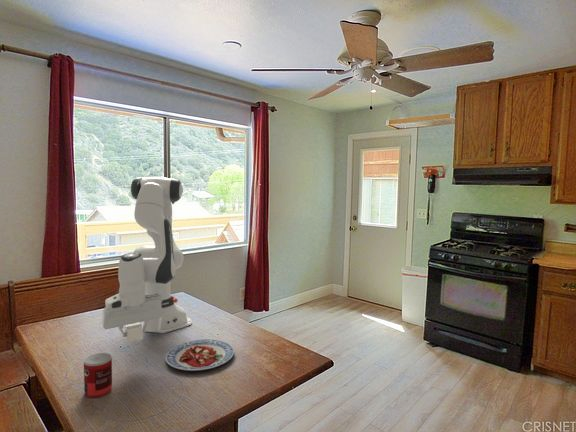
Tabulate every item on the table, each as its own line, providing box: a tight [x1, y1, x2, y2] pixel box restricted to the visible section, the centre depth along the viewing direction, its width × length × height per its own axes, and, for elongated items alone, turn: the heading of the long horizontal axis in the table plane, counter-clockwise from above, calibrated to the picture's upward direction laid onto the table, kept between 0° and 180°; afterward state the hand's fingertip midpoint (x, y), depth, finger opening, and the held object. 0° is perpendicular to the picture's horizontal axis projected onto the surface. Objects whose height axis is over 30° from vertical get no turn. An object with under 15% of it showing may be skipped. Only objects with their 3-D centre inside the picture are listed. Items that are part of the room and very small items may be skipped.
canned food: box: [83, 352, 113, 399], centre depth 111 cm, size 8×8×11 cm
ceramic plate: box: [165, 338, 235, 372], centre depth 135 cm, size 26×26×3 cm
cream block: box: [124, 322, 144, 344], centre depth 127 cm, size 5×5×5 cm
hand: (133, 334), depth 127 cm, fingers closed on cream block, 5 cm apart
